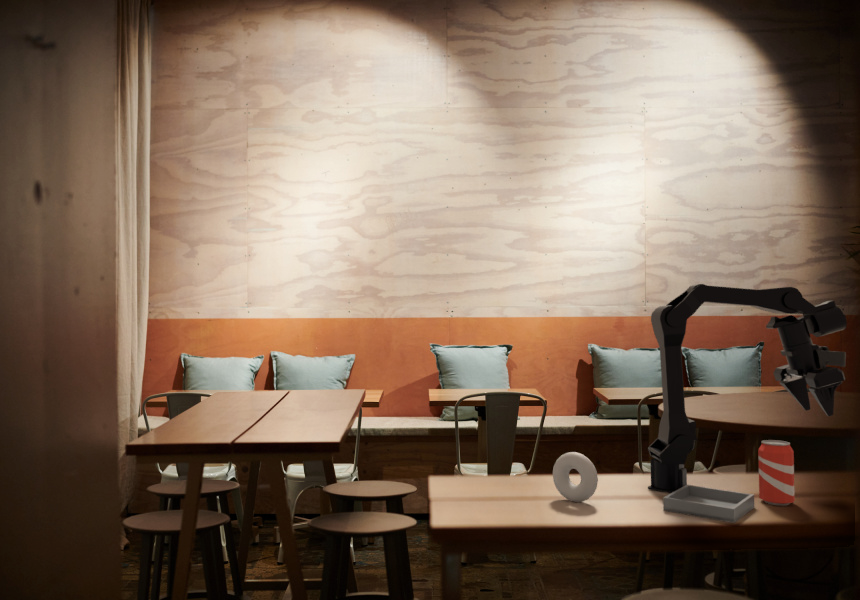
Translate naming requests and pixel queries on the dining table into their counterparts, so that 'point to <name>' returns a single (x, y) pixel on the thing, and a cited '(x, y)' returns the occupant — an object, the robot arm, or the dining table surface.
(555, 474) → the donut
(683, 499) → the tray
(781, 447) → the beverage can
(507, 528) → the dining table surface
